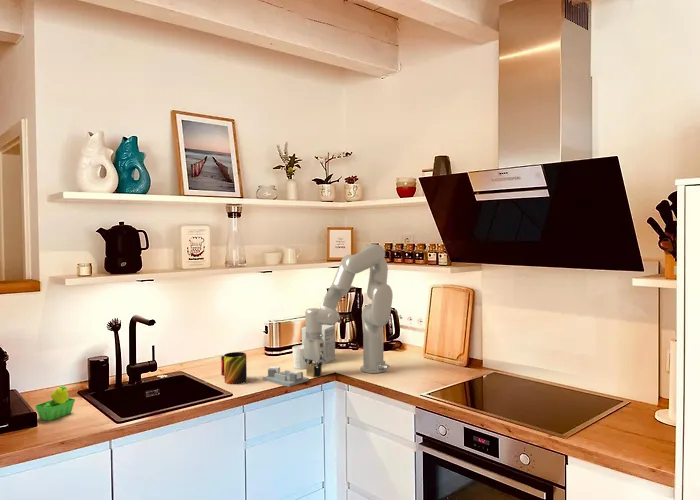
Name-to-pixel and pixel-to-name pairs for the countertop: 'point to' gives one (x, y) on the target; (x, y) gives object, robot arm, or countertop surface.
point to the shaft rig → (285, 377)
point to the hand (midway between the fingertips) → (314, 374)
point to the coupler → (311, 369)
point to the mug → (234, 367)
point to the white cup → (298, 357)
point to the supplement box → (325, 341)
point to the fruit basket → (56, 405)
